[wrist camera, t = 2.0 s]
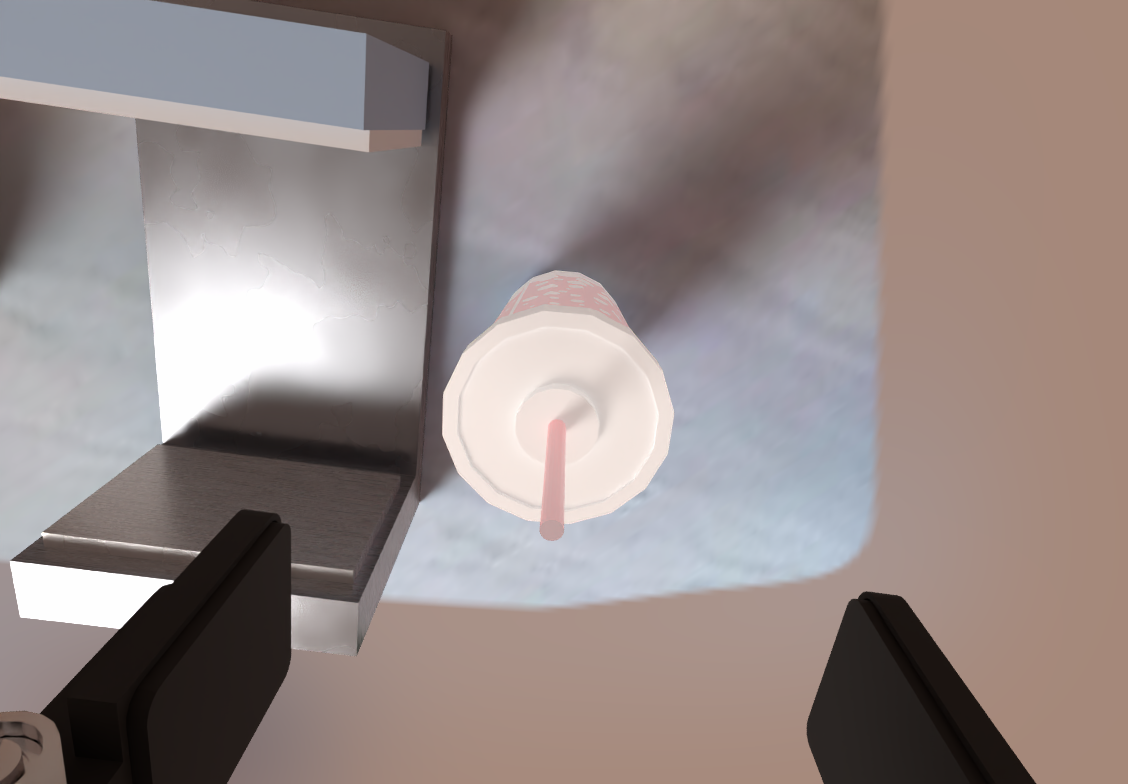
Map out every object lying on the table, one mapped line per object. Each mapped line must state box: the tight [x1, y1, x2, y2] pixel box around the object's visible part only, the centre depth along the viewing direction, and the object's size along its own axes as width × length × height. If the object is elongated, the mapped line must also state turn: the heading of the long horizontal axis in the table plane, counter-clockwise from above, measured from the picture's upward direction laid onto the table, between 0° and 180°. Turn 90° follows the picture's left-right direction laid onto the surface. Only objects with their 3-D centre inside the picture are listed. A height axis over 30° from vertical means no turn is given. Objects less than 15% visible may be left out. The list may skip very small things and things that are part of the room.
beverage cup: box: [442, 270, 674, 541], centre depth 20 cm, size 6×6×14 cm
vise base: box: [10, 0, 452, 656], centre depth 21 cm, size 18×10×9 cm, turn 172°
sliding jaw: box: [0, 0, 429, 152], centre depth 18 cm, size 2×9×7 cm, turn 82°
